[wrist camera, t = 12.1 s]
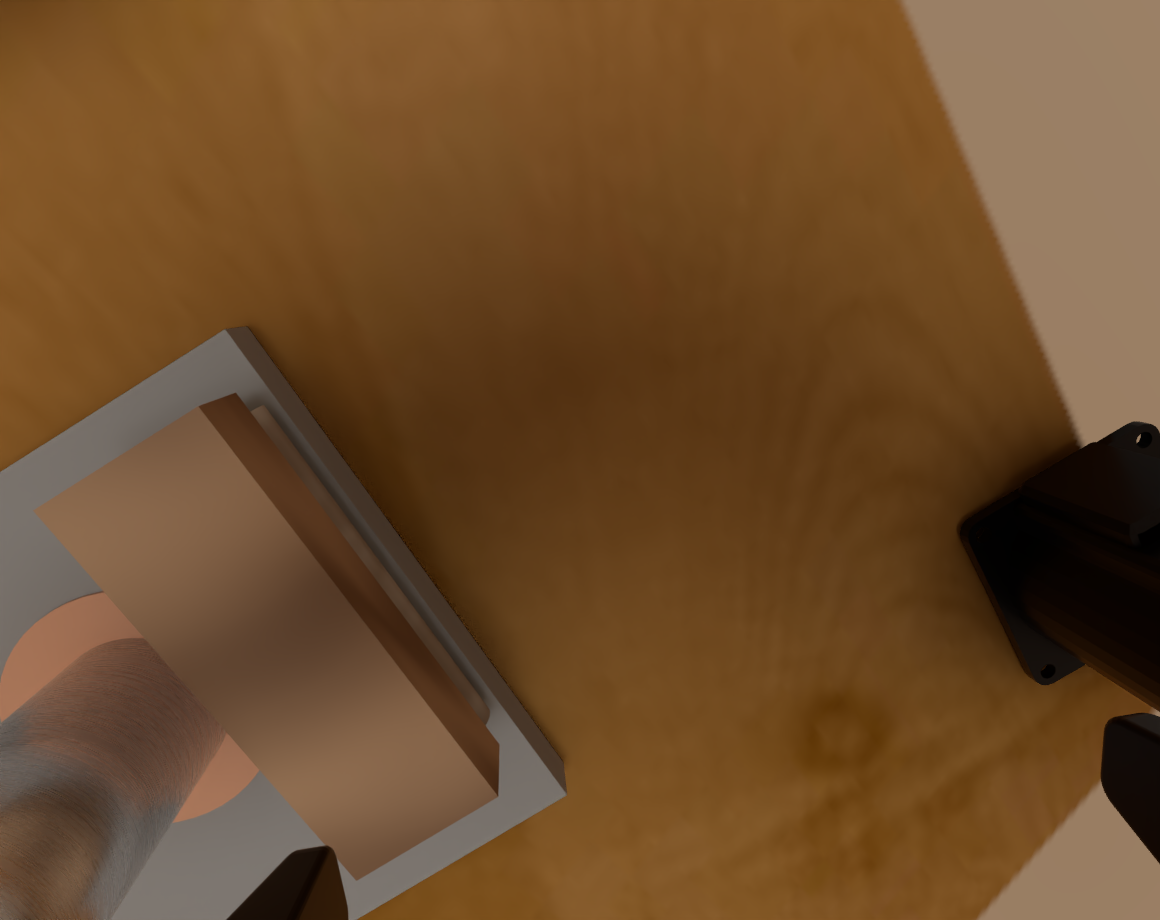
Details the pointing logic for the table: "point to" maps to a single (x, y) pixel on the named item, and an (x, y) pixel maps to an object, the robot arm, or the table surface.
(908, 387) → the table surface
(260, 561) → the wooden toy car
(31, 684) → the slate board
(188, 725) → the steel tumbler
